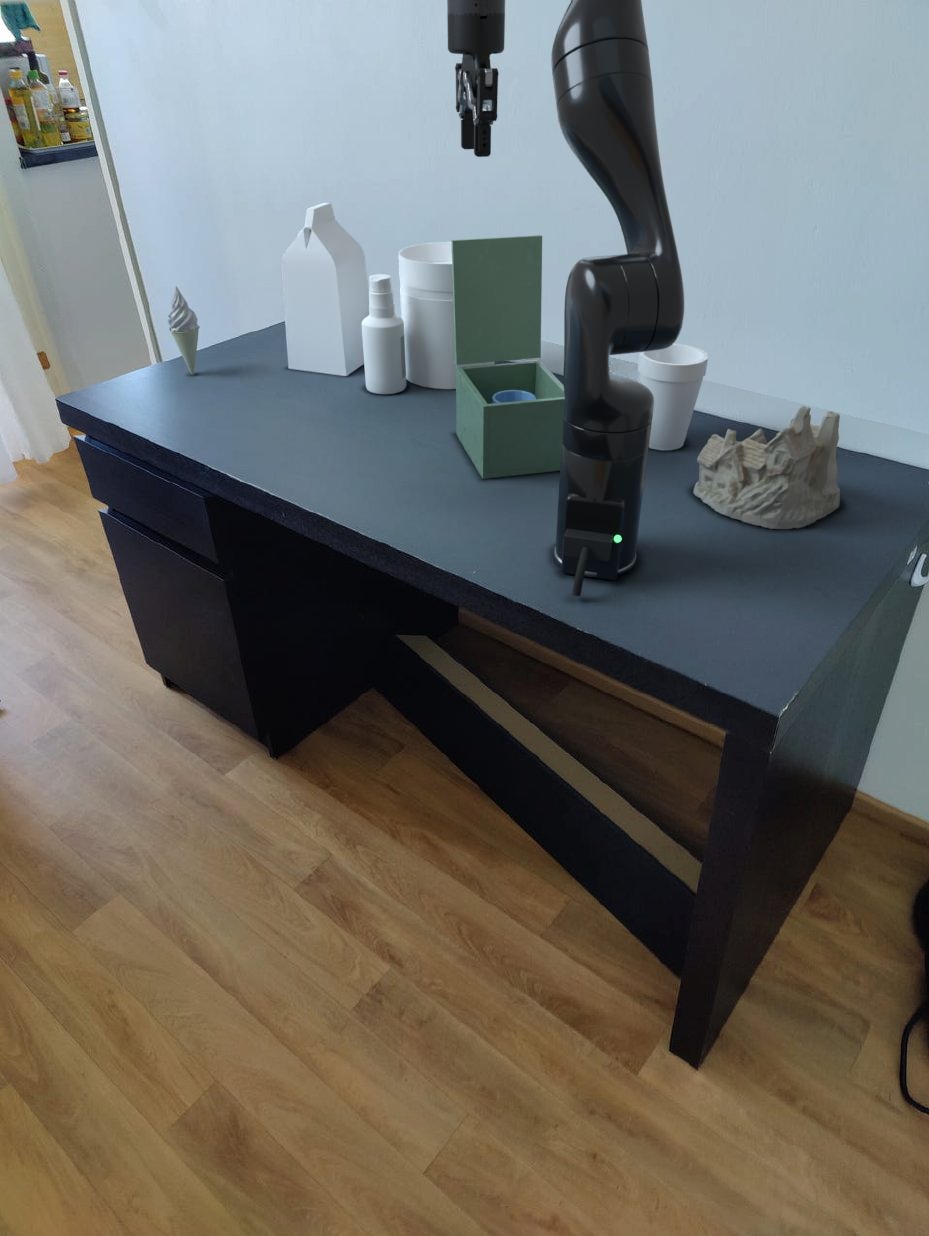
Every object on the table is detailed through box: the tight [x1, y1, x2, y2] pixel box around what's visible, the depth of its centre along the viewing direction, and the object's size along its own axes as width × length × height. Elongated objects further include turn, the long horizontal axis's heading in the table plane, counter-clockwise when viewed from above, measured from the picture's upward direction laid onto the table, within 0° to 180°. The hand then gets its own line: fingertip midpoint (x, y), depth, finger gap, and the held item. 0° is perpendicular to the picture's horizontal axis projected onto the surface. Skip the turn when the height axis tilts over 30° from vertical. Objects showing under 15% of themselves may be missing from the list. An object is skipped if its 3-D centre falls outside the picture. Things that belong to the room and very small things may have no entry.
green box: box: [455, 360, 565, 480], centre depth 125 cm, size 16×13×10 cm
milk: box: [280, 202, 370, 377], centre depth 153 cm, size 12×12×26 cm
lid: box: [450, 234, 543, 365], centre depth 126 cm, size 16×13×5 cm
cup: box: [492, 390, 536, 403], centre depth 125 cm, size 6×6×8 cm
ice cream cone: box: [167, 285, 200, 376], centre depth 151 cm, size 5×5×15 cm
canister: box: [397, 241, 496, 390], centre depth 150 cm, size 16×16×20 cm
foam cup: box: [637, 343, 709, 451], centre depth 127 cm, size 10×9×13 cm
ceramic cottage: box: [692, 405, 841, 530], centre depth 111 cm, size 16×16×15 cm
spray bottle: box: [362, 273, 407, 395], centre depth 144 cm, size 7×7×18 cm
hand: (475, 152), depth 124 cm, fingers open, 7 cm apart
